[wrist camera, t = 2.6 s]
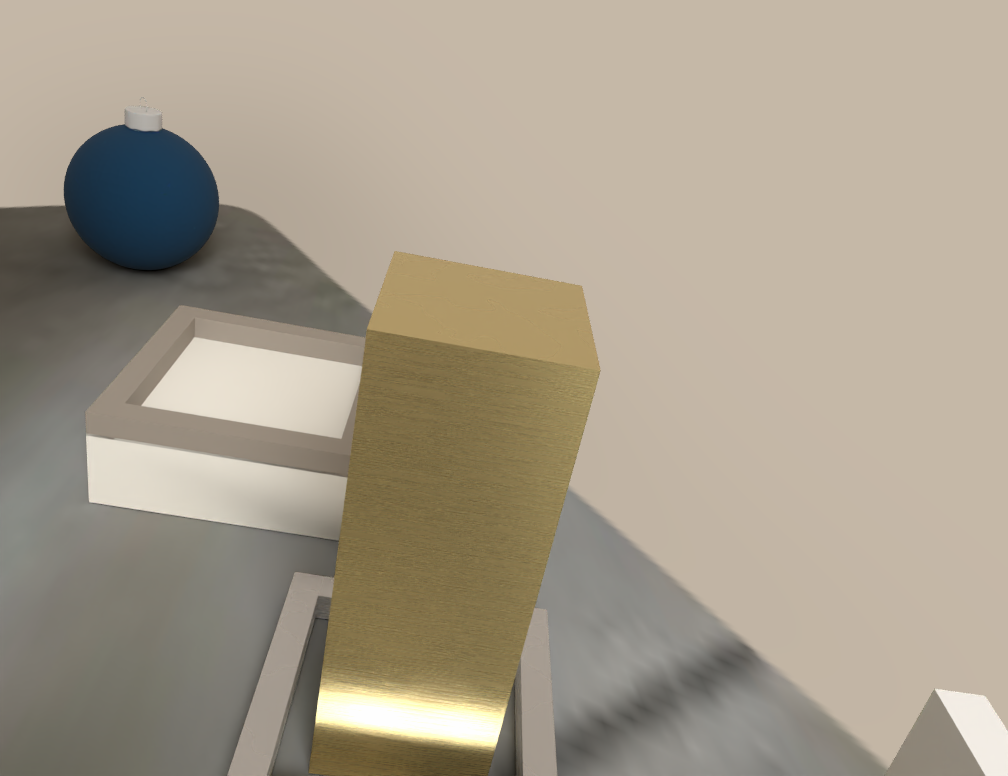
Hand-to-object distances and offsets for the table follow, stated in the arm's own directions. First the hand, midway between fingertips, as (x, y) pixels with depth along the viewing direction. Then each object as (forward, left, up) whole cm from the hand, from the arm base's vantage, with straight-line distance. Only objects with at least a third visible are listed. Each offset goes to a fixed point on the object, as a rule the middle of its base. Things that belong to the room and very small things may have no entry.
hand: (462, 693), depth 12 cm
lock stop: (-1, +10, -12) cm, 16 cm away
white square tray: (-10, +22, -12) cm, 27 cm away
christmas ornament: (-23, +39, -13) cm, 47 cm away
